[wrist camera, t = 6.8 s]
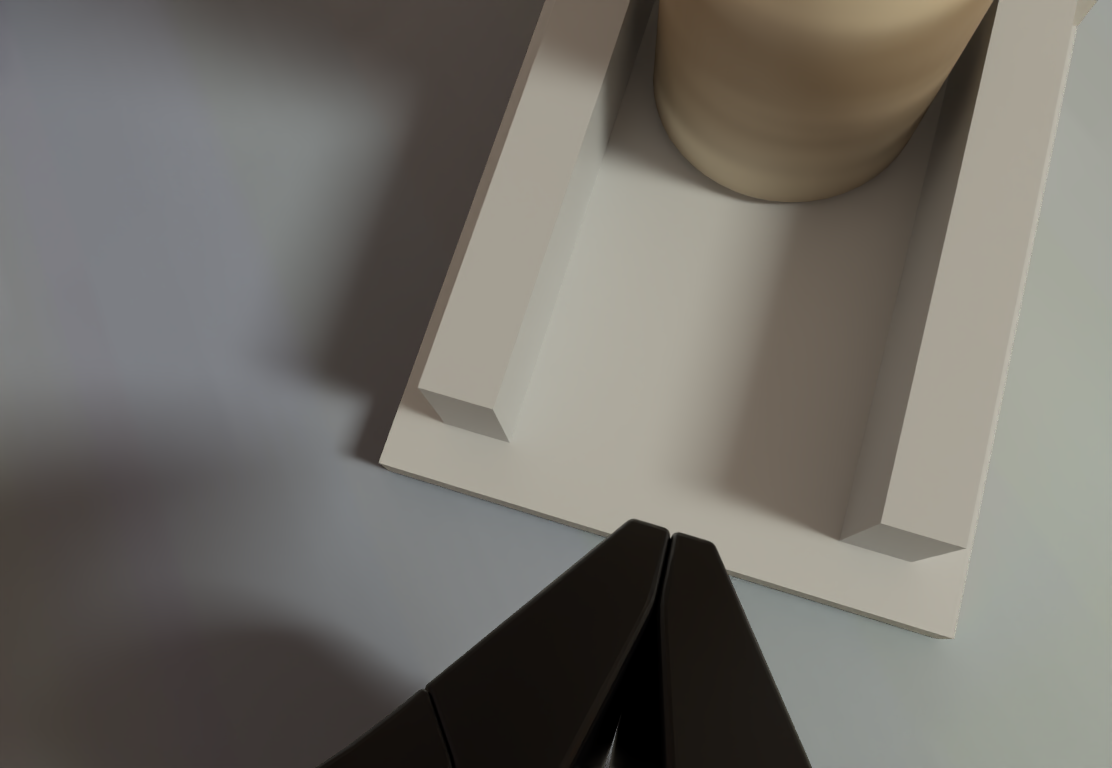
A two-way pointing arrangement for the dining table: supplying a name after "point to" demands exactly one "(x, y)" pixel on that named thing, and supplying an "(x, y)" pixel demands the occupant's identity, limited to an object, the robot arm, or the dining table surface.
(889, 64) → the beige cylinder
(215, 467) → the dining table surface
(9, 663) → the dining table surface
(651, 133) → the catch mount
